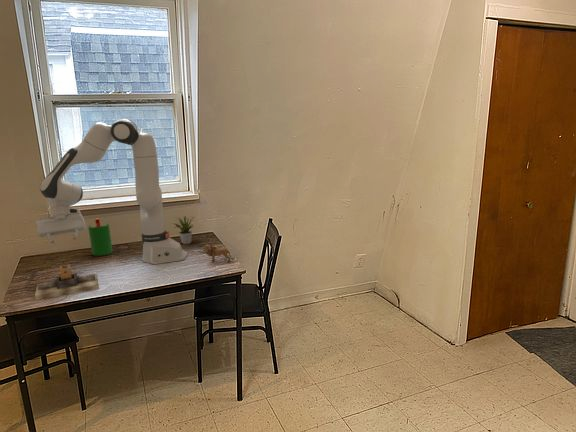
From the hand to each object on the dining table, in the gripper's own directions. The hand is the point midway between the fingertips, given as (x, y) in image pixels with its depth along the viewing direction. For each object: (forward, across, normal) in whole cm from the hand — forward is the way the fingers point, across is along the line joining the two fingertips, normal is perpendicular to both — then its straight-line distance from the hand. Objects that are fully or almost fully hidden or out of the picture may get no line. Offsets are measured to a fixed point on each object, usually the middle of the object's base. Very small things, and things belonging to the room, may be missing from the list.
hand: (63, 240), depth 196 cm
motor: (-7, +15, +32) cm, 36 cm away
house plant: (-3, +61, +30) cm, 68 cm away
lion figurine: (+26, +67, +1) cm, 72 cm away
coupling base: (+24, -1, +1) cm, 24 cm away
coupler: (+23, -1, -1) cm, 23 cm away
